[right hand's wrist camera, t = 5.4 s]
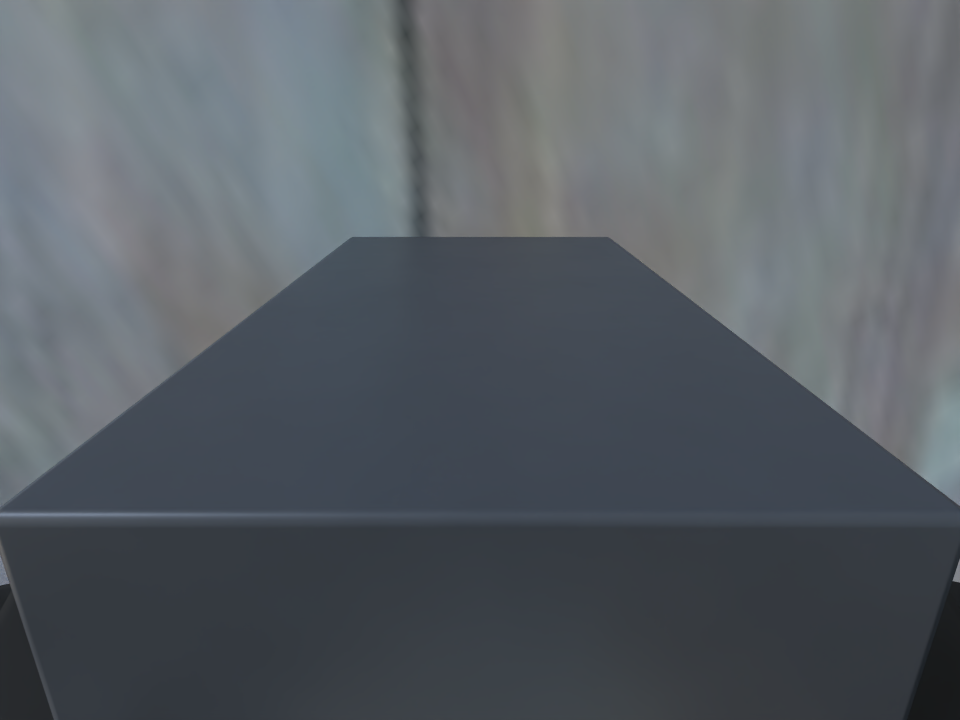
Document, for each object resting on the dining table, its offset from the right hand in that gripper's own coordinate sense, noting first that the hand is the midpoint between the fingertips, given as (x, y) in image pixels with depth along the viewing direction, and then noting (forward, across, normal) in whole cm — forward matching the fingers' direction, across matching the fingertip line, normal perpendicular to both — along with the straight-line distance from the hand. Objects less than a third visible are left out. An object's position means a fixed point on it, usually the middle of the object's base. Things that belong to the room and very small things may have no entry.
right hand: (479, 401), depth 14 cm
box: (+2, 0, -9) cm, 9 cm away
